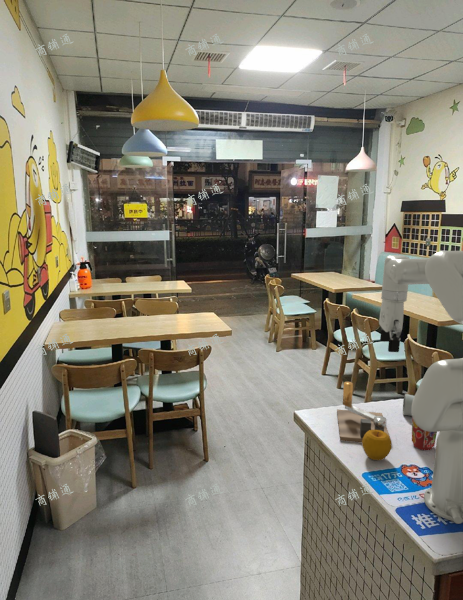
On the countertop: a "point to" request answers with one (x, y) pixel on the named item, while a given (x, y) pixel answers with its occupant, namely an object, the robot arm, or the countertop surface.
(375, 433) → the apple
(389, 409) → the countertop surface
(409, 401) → the ceramic mug
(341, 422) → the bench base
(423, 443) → the smoothie
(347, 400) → the lever
